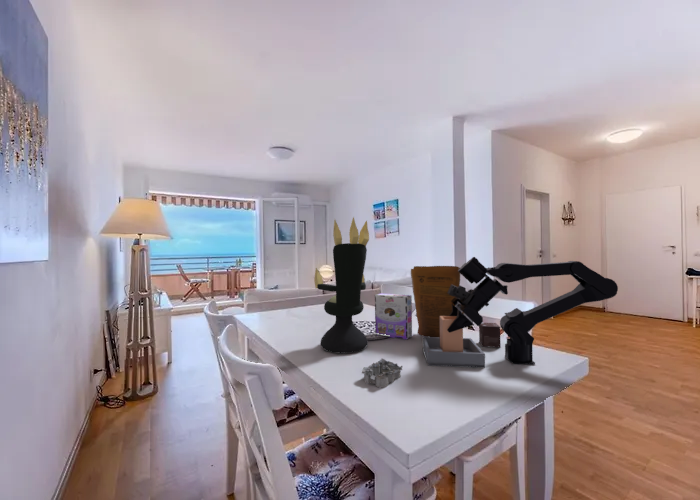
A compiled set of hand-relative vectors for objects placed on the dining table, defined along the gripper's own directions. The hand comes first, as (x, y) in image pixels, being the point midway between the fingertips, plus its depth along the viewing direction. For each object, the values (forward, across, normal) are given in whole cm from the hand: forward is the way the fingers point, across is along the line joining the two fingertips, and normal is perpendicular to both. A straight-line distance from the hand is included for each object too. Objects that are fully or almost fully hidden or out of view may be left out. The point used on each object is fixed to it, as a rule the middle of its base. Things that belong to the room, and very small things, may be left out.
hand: (446, 328), depth 99 cm
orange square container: (+4, 0, +6) cm, 7 cm away
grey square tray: (+5, 0, +7) cm, 9 cm away
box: (-6, -15, +19) cm, 25 cm away
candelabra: (+30, -5, -17) cm, 34 cm away
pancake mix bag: (+7, -23, +6) cm, 25 cm away
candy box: (+18, -23, -5) cm, 30 cm away
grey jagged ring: (+21, +19, -7) cm, 29 cm away
